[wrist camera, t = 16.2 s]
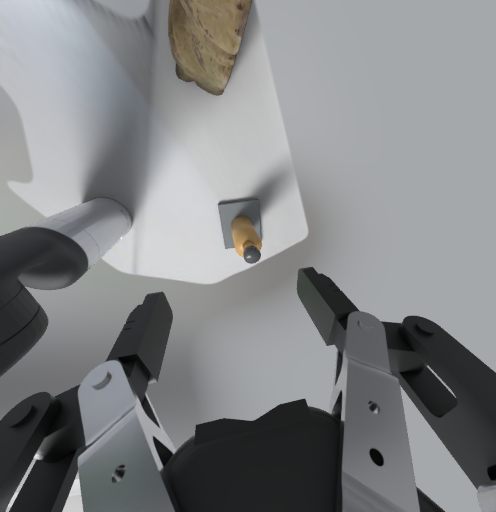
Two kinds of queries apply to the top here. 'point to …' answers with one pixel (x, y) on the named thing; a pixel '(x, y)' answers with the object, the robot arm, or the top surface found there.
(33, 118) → the top surface
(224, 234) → the mat
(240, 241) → the bottle
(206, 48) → the sculpture
